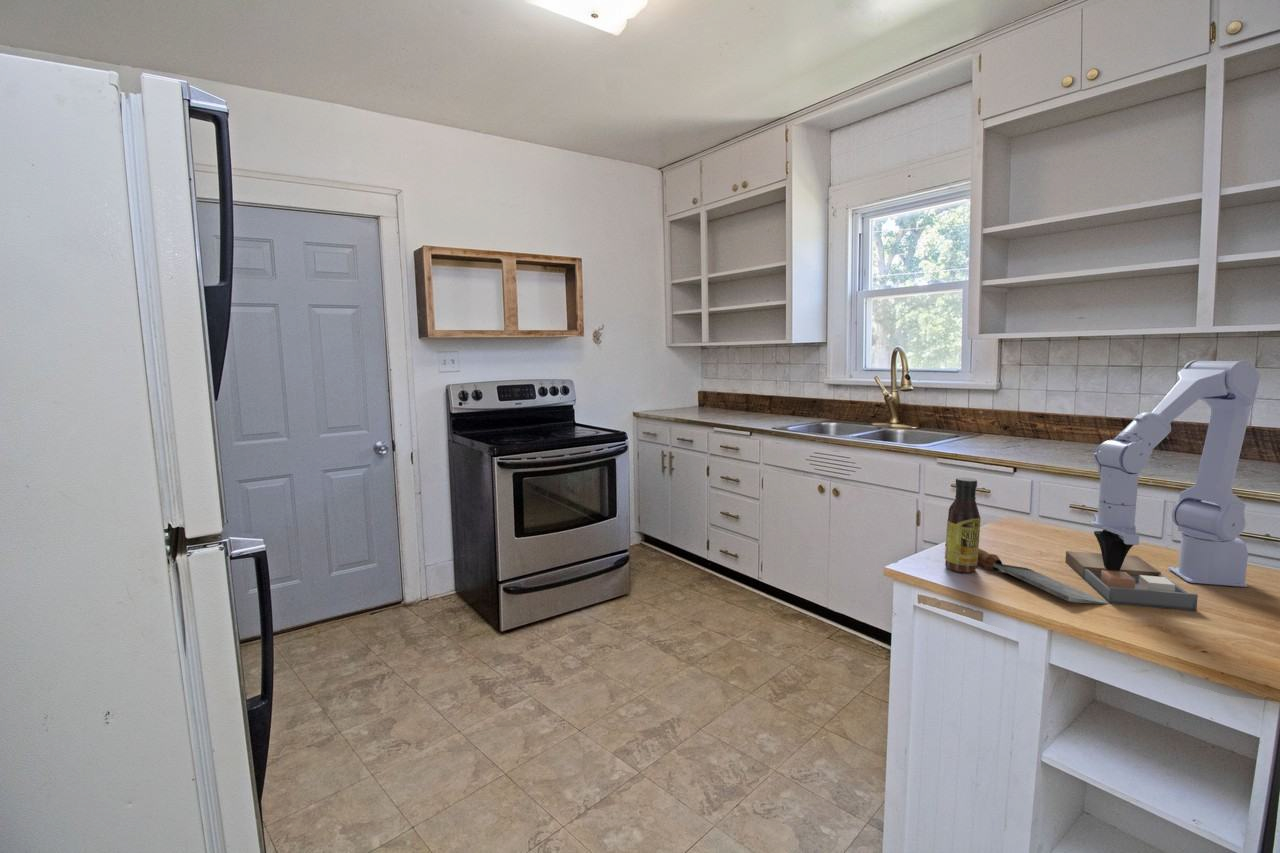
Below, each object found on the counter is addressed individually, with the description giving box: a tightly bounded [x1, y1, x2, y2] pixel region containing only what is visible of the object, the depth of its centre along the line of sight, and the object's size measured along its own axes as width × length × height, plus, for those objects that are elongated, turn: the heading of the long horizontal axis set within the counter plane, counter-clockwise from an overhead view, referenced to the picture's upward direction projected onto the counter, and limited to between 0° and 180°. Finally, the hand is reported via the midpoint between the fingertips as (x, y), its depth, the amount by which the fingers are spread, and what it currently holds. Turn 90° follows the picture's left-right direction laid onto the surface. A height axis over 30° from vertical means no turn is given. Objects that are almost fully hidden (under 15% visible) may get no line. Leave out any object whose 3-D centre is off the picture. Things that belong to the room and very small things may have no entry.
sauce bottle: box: [944, 477, 982, 574], centre depth 129 cm, size 7×6×20 cm
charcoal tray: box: [1083, 569, 1199, 612], centre depth 115 cm, size 13×12×3 cm
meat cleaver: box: [944, 541, 1111, 605], centre depth 127 cm, size 34×11×4 cm, turn 11°
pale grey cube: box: [1138, 575, 1176, 592], centre depth 113 cm, size 4×4×3 cm
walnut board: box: [1064, 550, 1162, 580], centre depth 126 cm, size 13×10×2 cm
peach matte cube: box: [1101, 570, 1135, 589], centre depth 116 cm, size 4×4×3 cm
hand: (1112, 569), depth 119 cm, fingers closed
